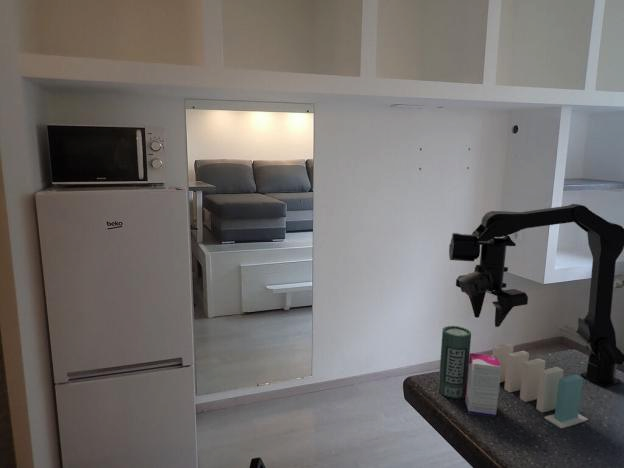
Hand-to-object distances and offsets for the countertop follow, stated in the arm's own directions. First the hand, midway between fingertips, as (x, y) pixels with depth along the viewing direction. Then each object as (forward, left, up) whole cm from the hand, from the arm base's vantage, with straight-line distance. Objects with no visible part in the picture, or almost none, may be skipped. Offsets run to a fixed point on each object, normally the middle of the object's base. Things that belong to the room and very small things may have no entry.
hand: (486, 321), depth 114 cm
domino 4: (0, +19, -13) cm, 23 cm away
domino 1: (0, +6, -13) cm, 14 cm away
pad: (0, +24, -13) cm, 27 cm away
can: (+15, +6, -13) cm, 21 cm away
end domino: (0, +24, -13) cm, 27 cm away
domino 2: (0, +10, -13) cm, 17 cm away
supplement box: (+14, +14, -13) cm, 24 cm away
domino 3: (0, +15, -13) cm, 20 cm away
